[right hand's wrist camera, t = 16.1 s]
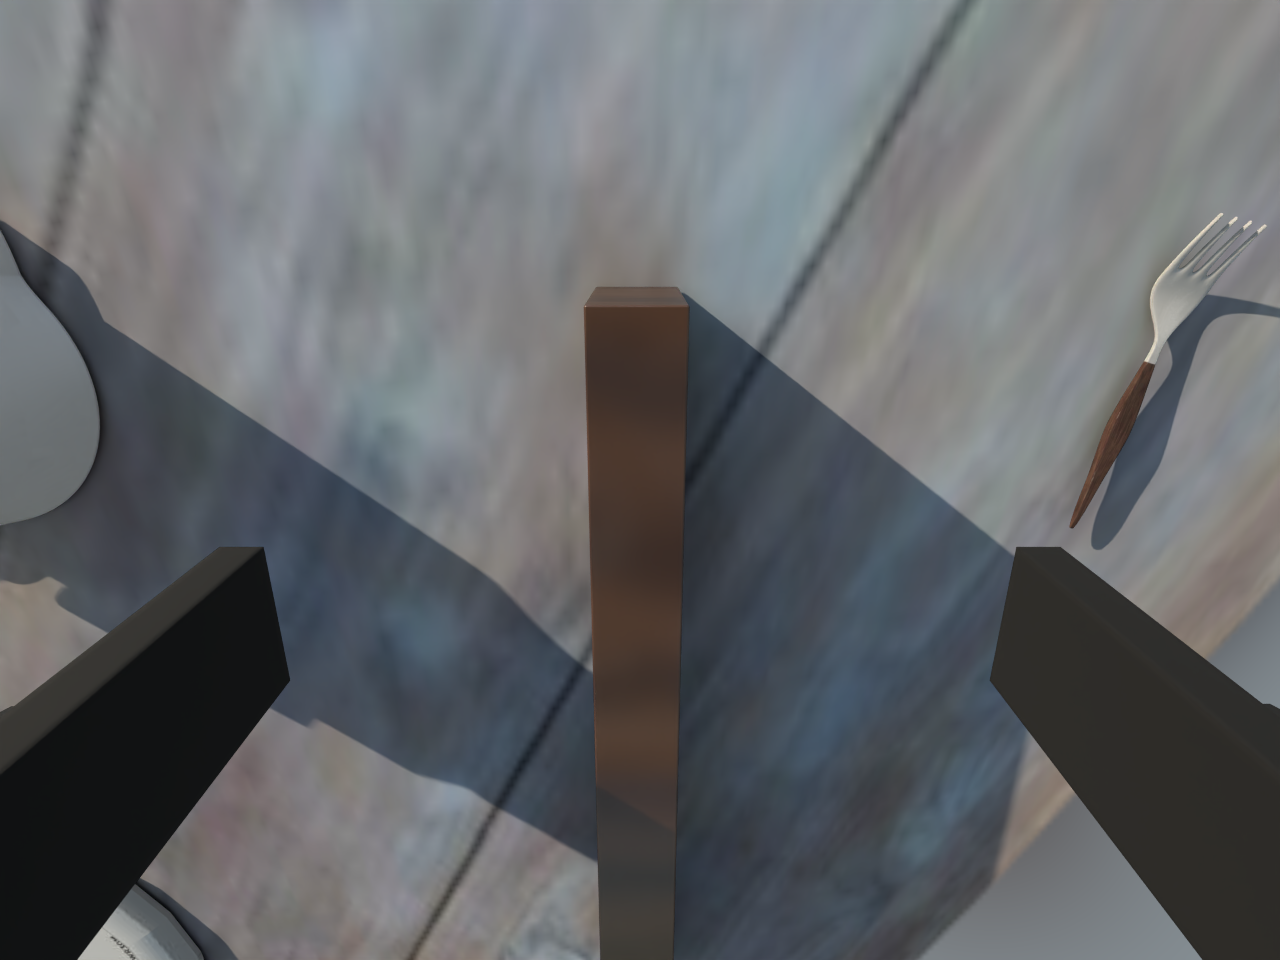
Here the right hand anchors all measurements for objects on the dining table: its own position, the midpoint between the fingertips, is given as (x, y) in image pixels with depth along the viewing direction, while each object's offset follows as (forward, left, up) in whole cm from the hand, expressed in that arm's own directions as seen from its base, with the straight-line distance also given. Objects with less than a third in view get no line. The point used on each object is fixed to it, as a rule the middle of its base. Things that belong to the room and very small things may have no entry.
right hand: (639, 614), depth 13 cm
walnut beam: (0, +19, -24) cm, 31 cm away
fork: (-25, +1, -24) cm, 35 cm away
